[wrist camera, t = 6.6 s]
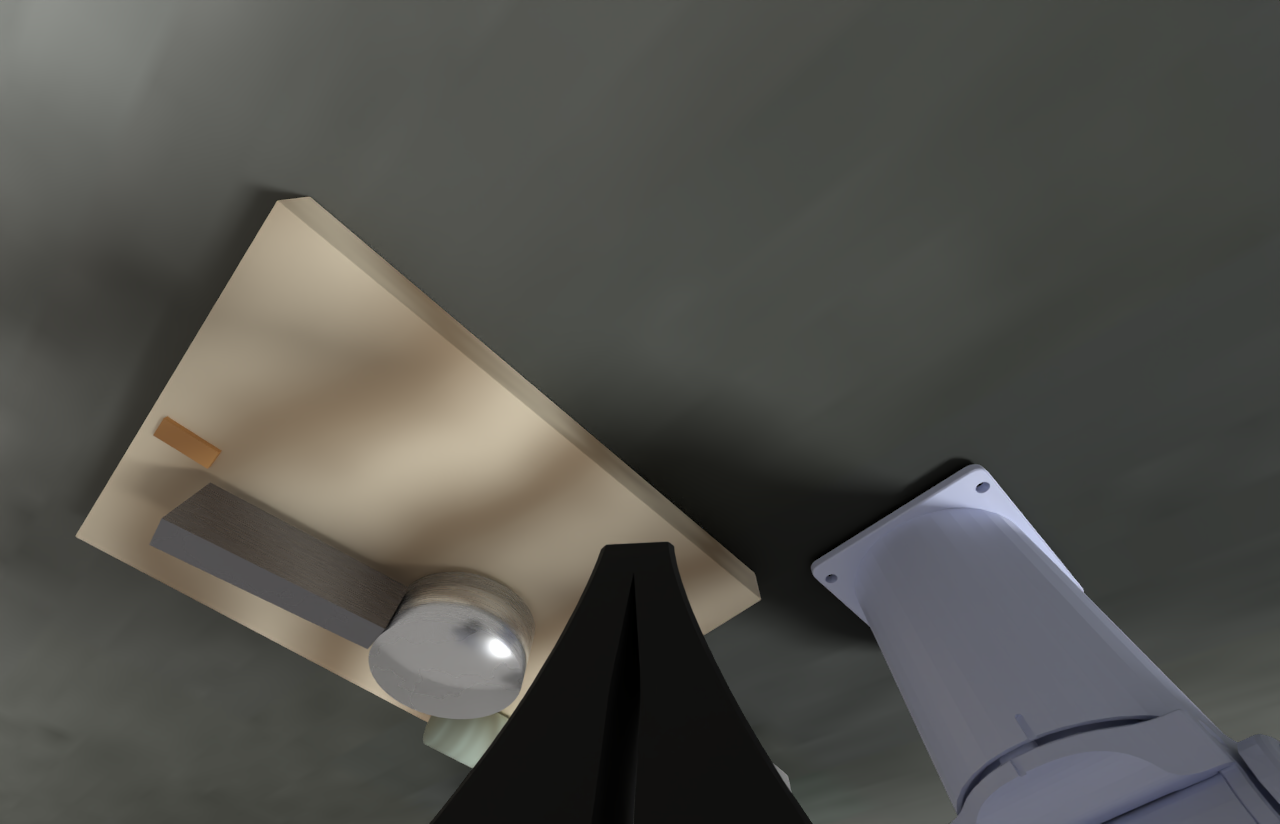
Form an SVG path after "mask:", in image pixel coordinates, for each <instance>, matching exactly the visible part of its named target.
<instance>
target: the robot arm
mask: <svg viewBox="0 0 1280 824" xmlns="http://www.w3.org/2000/svg"><path fill="white" fill-rule="evenodd" d="M982 482H983V484H982V485H980V486H978V487H976V486H977V485H978V484H980V483H982ZM811 571H812V574H813V576H814V577H815V578H816V579H817V580H818V581H819V582H820V583H821V584H823V585H824V586H825V587H826V588H827V589H828V590H829V591H830V592H831V593H833V594H834V595H835V596H836V597H837V598H838V599H839V600H840V601H842V602H843V603H844V604H845V605H846V606H847V607H848V608H849V609H850V610H852V611H853V612H854V613H855V614H856V615H857V616H858V617H859V618H861V619H862V620H863V621H864V622H865V623H866V624H867V625H868V626H869V627H870V628H871V630H872V632H873V634H874V636H875V639H876V641H877V643H878V645H879V647H880V649H881V651H882V654H883V656H884V658H885V660H886V662H887V664H888V667H889V669H890V671H891V673H892V675H893V677H894V680H895V682H896V684H897V686H898V688H899V690H900V693H901V695H902V697H903V699H904V701H905V703H906V706H907V708H908V710H909V712H910V714H911V716H912V718H913V721H914V723H915V725H916V727H917V729H918V731H919V734H920V736H921V738H922V740H923V742H924V744H925V747H926V749H927V751H928V753H929V755H930V757H931V760H932V762H933V764H934V766H935V768H936V770H937V772H938V775H939V777H940V779H941V781H942V783H943V785H944V788H945V790H946V792H947V794H948V796H949V798H950V801H951V803H952V805H953V807H954V809H955V811H956V814H957V817H956V818H955V819H954V820H953V821H952V822H951V823H949V824H1280V741H1278V740H1276V739H1275V738H1273V737H1270V736H1266V735H1263V734H1257V735H1253V736H1251V737H1249V738H1247V739H1245V740H1242V741H1240V742H1238V743H1237V742H1236V741H1234V740H1233V739H1231V738H1229V737H1228V736H1226V735H1225V734H1223V733H1222V732H1221V731H1220V730H1219V729H1218V728H1217V727H1216V726H1215V725H1214V724H1213V723H1212V722H1211V721H1210V720H1209V719H1208V718H1207V717H1206V716H1205V715H1204V714H1203V713H1202V712H1201V711H1200V710H1199V709H1198V708H1197V707H1196V706H1195V705H1194V703H1193V702H1192V701H1191V700H1190V699H1189V698H1188V697H1187V696H1186V695H1185V694H1184V693H1183V692H1182V691H1181V690H1180V689H1179V688H1178V687H1177V686H1176V685H1175V684H1174V683H1173V682H1172V681H1171V680H1170V679H1169V678H1168V677H1167V676H1166V675H1165V674H1164V673H1163V672H1162V671H1161V670H1160V669H1159V668H1158V667H1157V666H1156V665H1155V664H1154V663H1153V662H1152V661H1151V660H1150V659H1149V658H1148V657H1147V656H1146V655H1145V654H1144V653H1143V652H1142V651H1141V650H1140V649H1139V648H1138V647H1137V646H1136V645H1135V644H1134V643H1133V642H1132V641H1131V640H1130V639H1129V638H1128V637H1127V636H1126V635H1125V634H1124V633H1123V632H1122V631H1121V630H1120V629H1119V628H1118V627H1117V626H1116V625H1115V624H1114V623H1113V622H1112V621H1111V620H1110V619H1109V618H1108V617H1107V616H1106V615H1105V614H1104V613H1103V612H1102V611H1101V610H1100V609H1099V608H1098V607H1097V606H1096V605H1095V603H1094V602H1093V601H1092V600H1091V599H1090V598H1089V597H1088V596H1087V595H1086V594H1085V593H1084V590H1083V588H1082V587H1081V586H1080V584H1079V583H1078V582H1077V581H1076V580H1075V578H1074V577H1073V576H1072V575H1071V573H1070V572H1069V571H1068V570H1067V568H1066V567H1065V566H1064V565H1063V563H1062V562H1061V561H1060V560H1059V559H1058V557H1057V556H1056V555H1055V554H1054V552H1053V551H1052V550H1051V549H1050V547H1049V546H1048V545H1047V544H1046V543H1045V541H1044V540H1043V539H1042V538H1041V536H1040V535H1039V534H1038V533H1037V531H1036V530H1035V529H1034V528H1033V527H1032V525H1031V524H1030V523H1029V522H1028V520H1027V519H1026V518H1025V517H1024V515H1023V514H1022V513H1021V512H1020V511H1019V509H1018V508H1017V507H1016V506H1015V504H1014V503H1013V502H1012V501H1011V499H1010V498H1009V497H1008V496H1007V494H1006V493H1005V492H1004V491H1003V490H1002V488H1001V487H1000V486H999V485H998V483H997V482H996V481H995V480H994V478H993V477H992V476H991V475H990V474H989V472H988V471H987V470H986V469H985V468H984V467H982V466H981V465H978V464H972V465H968V466H966V467H964V468H963V469H961V470H959V471H958V472H956V473H955V474H953V475H951V476H950V477H948V478H947V479H945V480H943V481H942V482H940V483H939V484H937V485H935V486H934V487H932V488H931V489H929V490H927V491H926V492H924V493H923V494H921V495H919V496H918V497H916V498H915V499H913V500H911V501H910V502H908V503H907V504H905V505H903V506H902V507H900V508H899V509H897V510H895V511H894V512H892V513H891V514H889V515H888V516H886V517H884V518H883V519H881V520H880V521H878V522H876V523H875V524H873V525H872V526H870V527H868V528H867V529H865V530H864V531H862V532H860V533H859V534H857V535H856V536H854V537H852V538H851V539H849V540H848V541H846V542H844V543H843V544H841V545H840V546H838V547H836V548H835V549H833V550H832V551H830V552H828V553H827V554H825V555H824V556H822V557H820V558H819V559H817V560H816V561H814V562H813V563H812V565H811ZM831 574H833V575H831ZM828 575H831V576H828ZM635 789H636V794H635ZM634 800H635V811H634ZM633 818H634V824H812V822H811V821H810V819H809V818H808V816H807V815H806V813H805V812H804V810H803V809H802V807H801V806H800V804H799V803H798V802H797V800H796V799H795V797H794V796H793V794H792V793H791V791H790V790H789V788H788V787H787V785H786V784H785V782H784V781H783V779H782V777H781V776H780V774H779V773H778V771H777V769H776V768H775V766H774V765H773V763H772V761H771V760H770V758H769V756H768V755H767V753H766V752H765V750H764V748H763V747H762V745H761V744H760V742H759V740H758V738H757V737H756V735H755V733H754V732H753V730H752V728H751V726H750V725H749V723H748V721H747V720H746V718H745V716H744V714H743V713H742V711H741V709H740V707H739V705H738V704H737V702H736V700H735V698H734V696H733V694H732V693H731V691H730V689H729V687H728V685H727V683H726V681H725V679H724V677H723V675H722V673H721V671H720V669H719V667H718V665H717V663H716V661H715V659H714V657H713V655H712V653H711V651H710V649H709V647H708V645H707V643H706V640H705V638H704V636H703V633H702V631H701V629H700V626H699V624H698V622H697V620H696V617H695V615H694V613H693V610H692V608H691V605H690V602H689V600H688V597H687V594H686V591H685V589H684V586H683V583H682V580H681V576H680V573H679V569H678V566H677V561H676V556H675V549H674V545H672V544H671V543H670V542H648V543H628V544H608V545H605V546H604V547H603V548H602V549H601V551H600V554H599V556H598V559H597V562H596V564H595V566H594V569H593V571H592V573H591V576H590V578H589V580H588V582H587V585H586V587H585V589H584V591H583V593H582V595H581V597H580V599H579V601H578V603H577V605H576V607H575V609H574V611H573V613H572V615H571V617H570V618H569V620H568V622H567V624H566V626H565V628H564V630H563V632H562V633H561V635H560V637H559V639H558V641H557V643H556V644H555V646H554V648H553V649H552V651H551V653H550V654H549V656H548V658H547V659H546V661H545V663H544V664H543V666H542V668H541V669H540V671H539V673H538V674H537V676H536V678H535V679H534V681H533V683H532V684H531V686H530V687H529V689H528V691H527V692H526V694H525V695H524V697H523V698H522V700H521V701H520V703H519V704H518V706H517V707H516V709H515V710H514V712H513V713H512V715H511V716H510V718H509V719H508V721H507V722H506V724H505V725H504V726H503V728H502V729H501V731H500V732H499V733H498V735H497V736H496V738H495V739H494V741H493V742H492V743H491V745H490V746H489V748H488V749H487V750H486V752H485V753H484V754H483V756H482V757H481V758H480V760H479V761H478V762H477V764H476V765H475V766H474V767H473V769H472V770H471V771H470V773H469V774H468V775H467V777H466V778H465V779H464V781H463V782H462V783H461V785H460V786H459V787H458V789H457V790H456V791H455V792H454V794H453V795H452V796H451V798H450V799H449V800H448V801H447V803H446V804H445V805H444V806H443V808H442V809H441V810H440V811H439V813H438V814H437V815H436V816H435V817H434V819H433V820H432V821H431V822H430V824H633Z"/></svg>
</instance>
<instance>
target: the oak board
mask: <svg viewBox="0 0 1280 824" xmlns="http://www.w3.org/2000/svg"><path fill="white" fill-rule="evenodd" d="M210 482H211V483H212V484H214V485H216V486H218V487H220V488H222V489H224V490H226V491H228V492H229V493H231V494H233V495H235V496H237V497H239V498H241V499H243V500H245V501H246V502H248V503H250V504H252V505H254V506H256V507H258V508H260V509H262V510H263V511H265V512H267V513H269V514H271V515H273V516H275V517H277V518H279V519H280V520H282V521H284V522H286V523H288V524H290V525H292V526H294V527H296V528H297V529H299V530H301V531H303V532H305V533H307V534H309V535H311V536H313V537H314V538H316V539H318V540H320V541H322V542H324V543H326V544H328V545H330V546H331V547H333V548H335V549H337V550H339V551H341V552H343V553H345V554H347V555H348V556H350V557H352V558H354V559H356V560H358V561H360V562H362V563H364V564H365V565H367V566H369V567H371V568H373V569H375V570H377V571H379V572H381V573H382V574H384V575H386V576H388V577H390V578H392V579H394V580H396V581H398V582H399V583H401V584H403V585H405V586H407V587H408V586H409V585H410V584H412V583H413V582H414V581H416V580H418V579H420V578H422V577H425V576H427V575H430V574H435V573H440V572H467V573H472V574H477V575H481V576H484V577H487V578H490V579H492V580H495V581H497V582H499V583H501V584H503V585H505V586H506V587H508V588H509V589H511V590H512V591H513V592H515V593H516V594H517V595H518V596H519V597H520V598H521V599H522V600H523V601H524V602H525V603H526V605H527V606H528V608H529V609H530V611H531V613H532V616H533V618H534V623H535V634H534V638H533V643H532V647H531V651H530V655H529V659H528V663H527V667H526V671H525V675H524V679H523V683H522V687H521V690H520V692H519V695H518V696H517V698H516V699H515V700H514V701H513V702H512V703H511V704H510V705H509V706H508V707H506V708H505V709H503V710H501V711H499V712H497V713H495V714H492V715H489V716H485V717H481V718H475V719H448V718H441V717H436V716H432V715H428V714H425V713H421V712H419V711H416V710H414V709H411V708H409V707H407V706H405V705H403V704H401V703H400V702H398V701H397V700H395V699H394V698H392V697H391V696H390V695H388V694H387V693H386V692H385V691H384V690H383V689H382V688H381V687H380V686H379V685H378V683H377V682H376V680H375V679H374V677H373V675H372V673H371V671H370V667H369V652H370V649H371V647H372V645H371V646H370V647H369V648H368V649H366V648H364V647H362V646H360V645H358V644H355V643H353V642H351V641H349V640H347V639H345V638H343V637H341V636H339V635H337V634H335V633H332V632H330V631H328V630H326V629H324V628H322V627H320V626H318V625H316V624H314V623H312V622H309V621H307V620H305V619H303V618H301V617H299V616H297V615H295V614H293V613H291V612H289V611H286V610H284V609H282V608H280V607H278V606H276V605H274V604H272V603H270V602H268V601H266V600H263V599H261V598H259V597H257V596H255V595H253V594H251V593H249V592H247V591H245V590H243V589H240V588H238V587H236V586H234V585H232V584H230V583H228V582H226V581H224V580H222V579H220V578H217V577H215V576H213V575H211V574H209V573H207V572H205V571H203V570H201V569H199V568H197V567H194V566H192V565H190V564H188V563H186V562H184V561H182V560H180V559H178V558H176V557H174V556H171V555H169V554H167V553H165V552H163V551H161V550H159V549H157V548H155V547H153V546H151V545H149V544H150V542H151V540H152V538H153V535H154V533H155V531H156V529H157V527H158V525H159V523H160V521H161V518H163V517H164V516H165V515H167V514H168V513H169V512H171V511H172V510H173V509H175V508H176V507H177V506H179V505H180V504H182V503H183V502H184V501H186V500H187V499H188V498H190V497H191V496H192V495H194V494H195V493H197V492H198V491H199V490H201V489H202V488H203V487H205V486H206V485H207V484H209V483H210ZM75 537H77V538H79V539H81V540H83V541H85V542H87V543H88V544H90V545H92V546H94V547H96V548H98V549H100V550H102V551H104V552H106V553H107V554H109V555H111V556H113V557H115V558H117V559H119V560H121V561H123V562H125V563H126V564H128V565H130V566H132V567H134V568H136V569H138V570H140V571H142V572H143V573H145V574H147V575H149V576H151V577H153V578H155V579H157V580H159V581H161V582H162V583H164V584H166V585H168V586H170V587H172V588H174V589H176V590H178V591H180V592H181V593H183V594H185V595H187V596H189V597H191V598H193V599H195V600H197V601H199V602H200V603H202V604H204V605H206V606H208V607H210V608H212V609H214V610H216V611H217V612H219V613H221V614H223V615H225V616H227V617H229V618H231V619H233V620H235V621H236V622H238V623H240V624H242V625H244V626H246V627H248V628H250V629H252V630H254V631H255V632H257V633H259V634H261V635H263V636H265V637H267V638H269V639H271V640H273V641H274V642H276V643H278V644H280V645H282V646H284V647H286V648H288V649H290V650H292V651H293V652H295V653H297V654H299V655H301V656H303V657H305V658H307V659H309V660H310V661H312V662H314V663H316V664H318V665H320V666H322V667H324V668H326V669H328V670H329V671H331V672H333V673H335V674H337V675H339V676H341V677H343V678H345V679H347V680H348V681H350V682H352V683H354V684H356V685H358V686H360V687H362V688H364V689H366V690H367V691H369V692H371V693H373V694H375V695H377V696H379V697H381V698H383V699H384V700H386V701H388V702H390V703H392V704H394V705H396V706H398V707H400V708H402V709H403V710H405V711H407V712H409V713H411V714H413V715H415V716H417V717H419V718H421V719H422V720H424V721H426V722H428V723H427V726H426V728H425V731H424V735H423V742H424V744H426V745H428V746H430V747H432V748H433V749H435V750H437V751H439V752H441V753H443V754H445V755H447V756H449V757H451V758H453V759H455V760H457V761H459V762H461V763H463V764H465V765H467V766H469V767H471V768H473V767H474V766H475V765H476V764H477V762H478V761H479V760H480V758H481V757H482V756H483V754H484V753H485V752H486V750H487V749H488V748H489V746H490V745H491V743H492V742H493V741H494V739H495V738H496V736H497V735H498V733H499V732H500V731H501V729H502V728H503V726H504V725H505V724H506V722H507V721H508V719H509V718H510V716H511V715H512V713H513V712H514V710H515V709H516V707H517V706H518V704H519V703H520V701H521V700H522V698H523V697H524V695H525V694H526V692H527V691H528V689H529V687H530V686H531V684H532V683H533V681H534V679H535V678H536V676H537V674H538V673H539V671H540V669H541V668H542V666H543V664H544V663H545V661H546V659H547V658H548V656H549V654H550V653H551V651H552V649H553V648H554V646H555V644H556V643H557V641H558V639H559V637H560V635H561V633H562V632H563V630H564V628H565V626H566V624H567V622H568V620H569V618H570V617H571V615H572V613H573V611H574V609H575V607H576V605H577V603H578V601H579V599H580V597H581V595H582V593H583V591H584V589H585V587H586V585H587V582H588V580H589V578H590V576H591V573H592V571H593V569H594V566H595V564H596V562H597V559H598V556H599V554H600V551H601V549H602V548H603V547H604V546H605V545H608V544H628V543H648V542H670V543H671V544H672V545H674V549H675V556H676V561H677V566H678V569H679V573H680V576H681V580H682V583H683V586H684V589H685V591H686V594H687V597H688V600H689V602H690V605H691V608H692V610H693V613H694V615H695V617H696V620H697V622H698V624H699V626H700V629H701V631H702V633H703V635H705V634H707V633H708V632H710V631H711V630H713V629H715V628H716V627H718V626H720V625H721V624H723V623H724V622H726V621H728V620H729V619H731V618H732V617H734V616H736V615H737V614H739V613H740V612H742V611H744V610H745V609H747V608H749V607H750V606H752V605H753V604H755V603H757V602H758V601H760V600H761V596H760V592H759V588H758V584H757V580H756V576H755V573H754V572H753V571H752V570H751V569H749V568H748V567H747V566H746V565H745V564H743V563H742V562H741V561H740V560H739V559H738V558H736V557H735V556H734V555H733V554H732V553H730V552H729V551H728V550H727V549H726V548H725V547H723V546H722V545H721V544H720V543H719V542H717V541H716V540H715V539H714V538H713V537H712V536H710V535H709V534H708V533H707V532H706V531H704V530H703V529H702V528H701V527H700V526H699V525H697V524H696V523H695V522H694V521H693V520H691V519H690V518H689V517H688V516H687V515H686V514H684V513H683V512H682V511H681V510H680V509H678V508H677V507H676V506H675V505H674V504H673V503H671V502H670V501H669V500H668V499H667V498H665V497H664V496H663V495H662V494H661V493H660V492H658V491H657V490H656V489H655V488H654V487H652V486H651V485H650V484H649V483H648V482H647V481H645V480H644V479H643V478H642V477H641V476H639V475H638V474H637V473H636V472H635V471H634V470H632V469H631V468H630V467H629V466H628V465H626V464H625V463H624V462H623V461H622V460H621V459H619V458H618V457H617V456H616V455H615V454H613V453H612V452H611V451H610V450H609V449H608V448H606V447H605V446H604V445H603V444H602V443H600V442H599V441H598V440H597V439H596V438H595V437H593V436H592V435H591V434H590V433H589V432H587V431H586V430H585V429H584V428H583V427H582V426H580V425H579V424H578V423H577V422H576V421H574V420H573V419H572V418H571V417H570V416H569V415H567V414H566V413H565V412H564V411H563V410H561V409H560V408H559V407H558V406H557V405H556V404H554V403H553V402H552V401H551V400H550V399H548V398H547V397H546V396H545V395H544V394H543V393H541V392H540V391H539V390H538V389H537V388H535V387H534V386H533V385H532V384H531V383H530V382H528V381H527V380H526V379H525V378H524V377H522V376H521V375H520V374H519V373H518V372H517V371H515V370H514V369H513V368H512V367H511V366H509V365H508V364H507V363H506V362H505V361H504V360H502V359H501V358H500V357H499V356H498V355H496V354H495V353H494V352H493V351H492V350H491V349H489V348H488V347H487V346H486V345H485V344H483V343H482V342H481V341H480V340H479V339H478V338H476V337H475V336H474V335H473V334H472V333H470V332H469V331H468V330H467V329H466V328H465V327H463V326H462V325H461V324H460V323H459V322H457V321H456V320H455V319H454V318H453V317H452V316H450V315H449V314H448V313H447V312H446V311H444V310H443V309H442V308H441V307H440V306H439V305H437V304H436V303H435V302H434V301H433V300H431V299H430V298H429V297H428V296H427V295H426V294H424V293H423V292H422V291H421V290H420V289H418V288H417V287H416V286H415V285H414V284H413V283H411V282H410V281H409V280H408V279H407V278H405V277H404V276H403V275H402V274H401V273H400V272H398V271H397V270H396V269H395V268H394V267H392V266H391V265H390V264H389V263H388V262H387V261H385V260H384V259H383V258H382V257H381V256H379V255H378V254H377V253H376V252H375V251H374V250H372V249H371V248H370V247H369V246H368V245H366V244H365V243H364V242H363V241H362V240H361V239H359V238H358V237H357V236H356V235H355V234H353V233H352V232H351V231H350V230H349V229H348V228H346V227H345V226H344V225H343V224H342V223H340V222H339V221H338V220H337V219H336V218H335V217H333V216H332V215H331V214H330V213H329V212H327V211H326V210H325V209H324V208H323V207H322V206H320V205H319V204H318V203H317V202H316V201H314V200H313V199H312V198H311V197H302V198H294V199H285V200H277V202H276V204H275V205H274V207H273V209H272V210H271V212H270V214H269V215H268V217H267V219H266V220H265V222H264V224H263V225H262V227H261V229H260V230H259V232H258V234H257V235H256V237H255V239H254V240H253V242H252V244H251V245H250V247H249V249H248V250H247V252H246V254H245V255H244V257H243V259H242V260H241V262H240V264H239V265H238V267H237V268H236V270H235V272H234V273H233V275H232V277H231V278H230V280H229V282H228V283H227V285H226V287H225V288H224V290H223V292H222V293H221V295H220V297H219V298H218V300H217V302H216V303H215V305H214V307H213V308H212V310H211V312H210V313H209V315H208V317H207V318H206V320H205V322H204V323H203V325H202V327H201V328H200V330H199V332H198V333H197V335H196V337H195V338H194V340H193V342H192V343H191V345H190V347H189V348H188V350H187V352H186V353H185V355H184V357H183V358H182V360H181V362H180V363H179V365H178V367H177V368H176V370H175V372H174V373H173V375H172V377H171V378H170V380H169V381H168V383H167V385H166V386H165V388H164V390H163V391H162V393H161V395H160V396H159V398H158V400H157V401H156V403H155V405H154V406H153V408H152V410H151V411H150V413H149V415H148V416H147V418H146V420H145V421H144V423H143V425H142V426H141V428H140V430H139V431H138V433H137V435H136V436H135V438H134V440H133V441H132V443H131V445H130V446H129V448H128V450H127V451H126V453H125V455H124V456H123V458H122V460H121V461H120V463H119V465H118V466H117V468H116V470H115V471H114V473H113V475H112V476H111V478H110V480H109V481H108V483H107V485H106V486H105V488H104V490H103V491H102V493H101V494H100V496H99V498H98V499H97V501H96V503H95V504H94V506H93V508H92V509H91V511H90V513H89V514H88V516H87V518H86V519H85V521H84V523H83V524H82V526H81V528H80V529H79V531H78V533H77V534H76V536H75ZM373 643H374V642H373Z"/></svg>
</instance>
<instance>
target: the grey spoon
mask: <svg viewBox="0 0 1280 824" xmlns="http://www.w3.org/2000/svg"><path fill="white" fill-rule="evenodd" d="M149 545H151V546H153V547H155V548H157V549H159V550H161V551H163V552H165V553H167V554H169V555H171V556H174V557H176V558H178V559H180V560H182V561H184V562H186V563H188V564H190V565H192V566H194V567H197V568H199V569H201V570H203V571H205V572H207V573H209V574H211V575H213V576H215V577H217V578H220V579H222V580H224V581H226V582H228V583H230V584H232V585H234V586H236V587H238V588H240V589H243V590H245V591H247V592H249V593H251V594H253V595H255V596H257V597H259V598H261V599H263V600H266V601H268V602H270V603H272V604H274V605H276V606H278V607H280V608H282V609H284V610H286V611H289V612H291V613H293V614H295V615H297V616H299V617H301V618H303V619H305V620H307V621H309V622H312V623H314V624H316V625H318V626H320V627H322V628H324V629H326V630H328V631H330V632H332V633H335V634H337V635H339V636H341V637H343V638H345V639H347V640H349V641H351V642H353V643H355V644H358V645H360V646H362V647H364V648H366V649H368V648H369V647H370V646H371V645H372V647H371V649H370V652H369V667H370V671H371V673H372V675H373V677H374V679H375V680H376V682H377V683H378V685H379V686H380V687H381V688H382V689H383V690H384V691H385V692H386V693H387V694H388V695H390V696H391V697H392V698H394V699H395V700H397V701H398V702H400V703H401V704H403V705H405V706H407V707H409V708H411V709H414V710H416V711H419V712H421V713H425V714H428V715H432V716H436V717H441V718H448V719H475V718H481V717H485V716H489V715H492V714H495V713H497V712H499V711H501V710H503V709H505V708H506V707H508V706H509V705H510V704H511V703H512V702H513V701H514V700H515V699H516V698H517V696H518V695H519V692H520V690H521V687H522V683H523V679H524V675H525V671H526V667H527V663H528V659H529V655H530V651H531V647H532V643H533V638H534V634H535V623H534V618H533V616H532V613H531V611H530V609H529V608H528V606H527V605H526V603H525V602H524V601H523V600H522V599H521V598H520V597H519V596H518V595H517V594H516V593H515V592H513V591H512V590H511V589H509V588H508V587H506V586H505V585H503V584H501V583H499V582H497V581H495V580H492V579H490V578H487V577H484V576H481V575H477V574H472V573H467V572H440V573H435V574H430V575H427V576H425V577H422V578H420V579H418V580H416V581H414V582H413V583H412V584H410V585H409V586H408V587H407V586H405V585H403V584H401V583H399V582H398V581H396V580H394V579H392V578H390V577H388V576H386V575H384V574H382V573H381V572H379V571H377V570H375V569H373V568H371V567H369V566H367V565H365V564H364V563H362V562H360V561H358V560H356V559H354V558H352V557H350V556H348V555H347V554H345V553H343V552H341V551H339V550H337V549H335V548H333V547H331V546H330V545H328V544H326V543H324V542H322V541H320V540H318V539H316V538H314V537H313V536H311V535H309V534H307V533H305V532H303V531H301V530H299V529H297V528H296V527H294V526H292V525H290V524H288V523H286V522H284V521H282V520H280V519H279V518H277V517H275V516H273V515H271V514H269V513H267V512H265V511H263V510H262V509H260V508H258V507H256V506H254V505H252V504H250V503H248V502H246V501H245V500H243V499H241V498H239V497H237V496H235V495H233V494H231V493H229V492H228V491H226V490H224V489H222V488H220V487H218V486H216V485H214V484H212V483H211V482H210V483H209V484H207V485H206V486H205V487H203V488H202V489H201V490H199V491H198V492H197V493H195V494H194V495H192V496H191V497H190V498H188V499H187V500H186V501H184V502H183V503H182V504H180V505H179V506H177V507H176V508H175V509H173V510H172V511H171V512H169V513H168V514H167V515H165V516H164V517H163V518H161V521H160V523H159V525H158V527H157V529H156V531H155V533H154V535H153V538H152V540H151V542H150V544H149ZM373 642H374V643H373Z"/></svg>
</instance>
